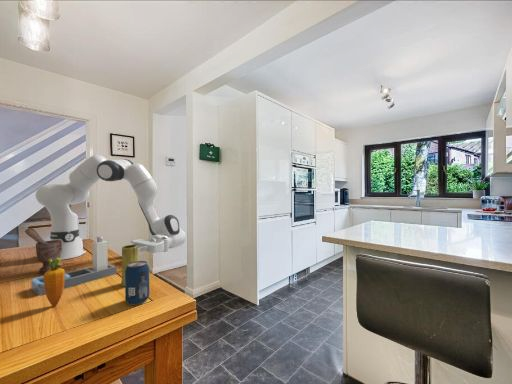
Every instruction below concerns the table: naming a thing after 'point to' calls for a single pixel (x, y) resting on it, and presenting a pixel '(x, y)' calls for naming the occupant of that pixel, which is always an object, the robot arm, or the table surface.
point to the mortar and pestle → (45, 250)
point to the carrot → (54, 282)
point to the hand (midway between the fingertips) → (131, 248)
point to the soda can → (137, 282)
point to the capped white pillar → (100, 254)
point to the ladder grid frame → (75, 278)
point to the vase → (128, 258)
